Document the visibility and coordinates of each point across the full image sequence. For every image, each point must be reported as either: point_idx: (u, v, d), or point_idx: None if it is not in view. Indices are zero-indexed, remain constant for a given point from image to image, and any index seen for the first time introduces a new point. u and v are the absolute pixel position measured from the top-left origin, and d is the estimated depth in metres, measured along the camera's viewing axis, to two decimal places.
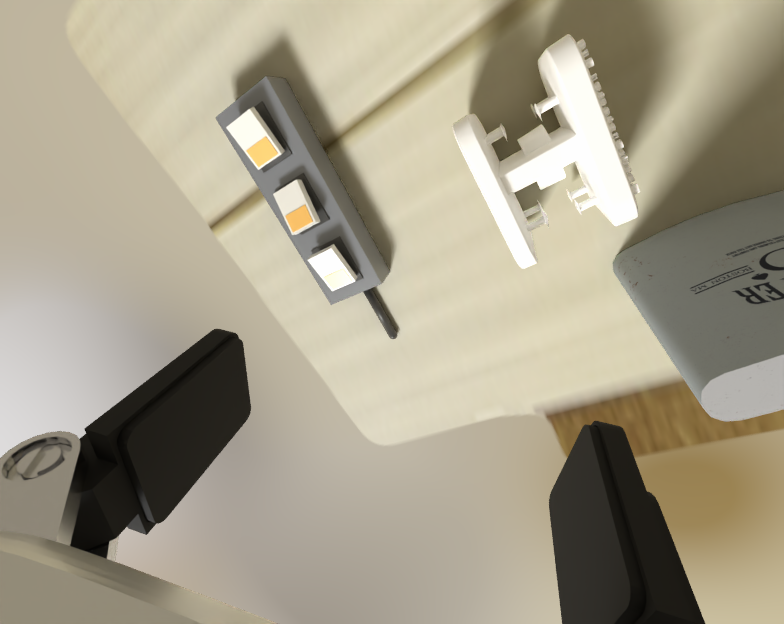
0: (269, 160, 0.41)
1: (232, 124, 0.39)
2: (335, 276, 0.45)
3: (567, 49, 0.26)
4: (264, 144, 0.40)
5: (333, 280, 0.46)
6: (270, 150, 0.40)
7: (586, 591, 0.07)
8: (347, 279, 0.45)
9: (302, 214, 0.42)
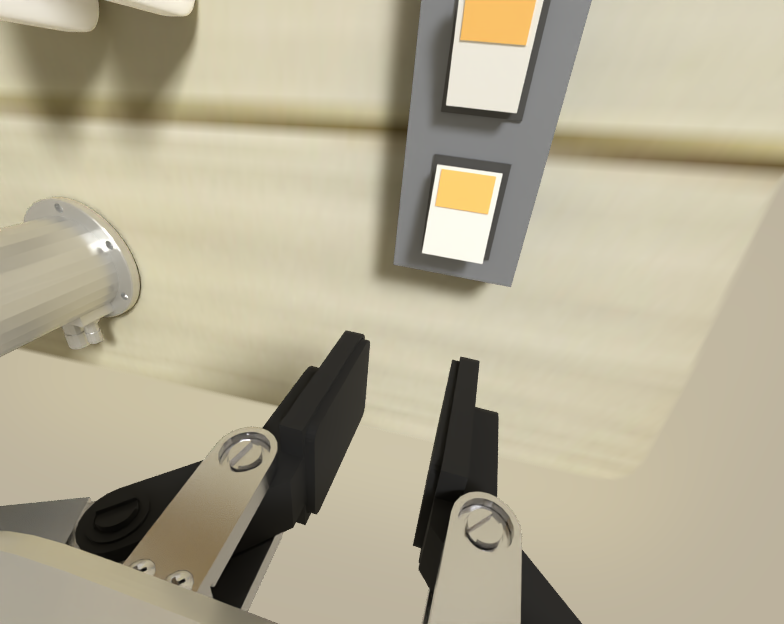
0: (466, 171, 0.21)
1: (468, 258, 0.22)
2: None
3: None
4: (448, 198, 0.21)
5: None
6: (448, 183, 0.21)
7: (426, 481, 0.09)
8: None
9: (480, 20, 0.17)
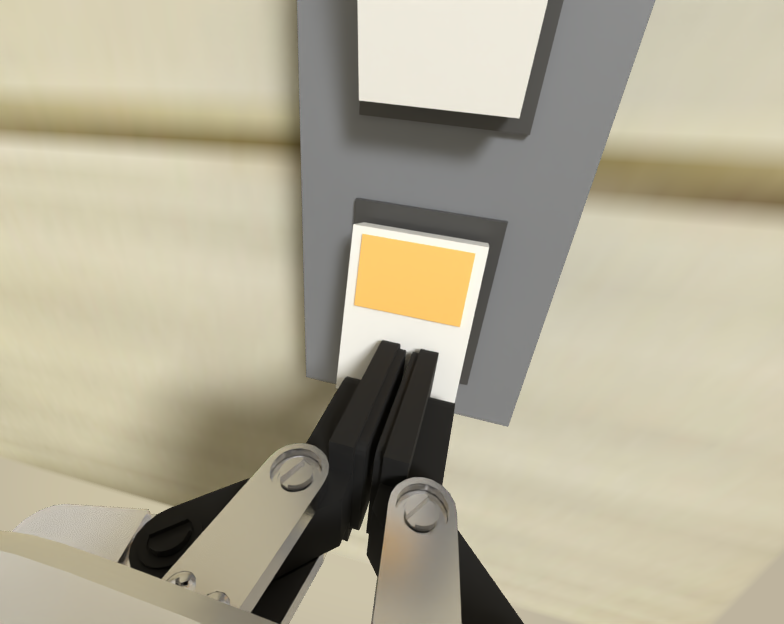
0: (413, 240, 0.10)
1: None
2: None
3: None
4: (379, 291, 0.10)
5: None
6: (377, 262, 0.10)
7: None
8: None
9: None
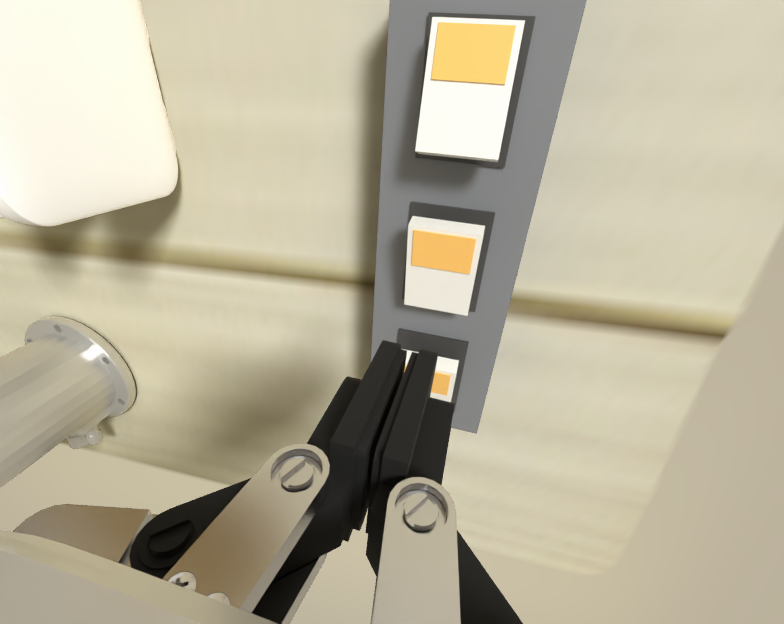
0: None
1: None
2: (470, 68, 0.15)
3: None
4: None
5: (486, 56, 0.15)
6: None
7: None
8: (447, 36, 0.15)
9: (428, 253, 0.19)
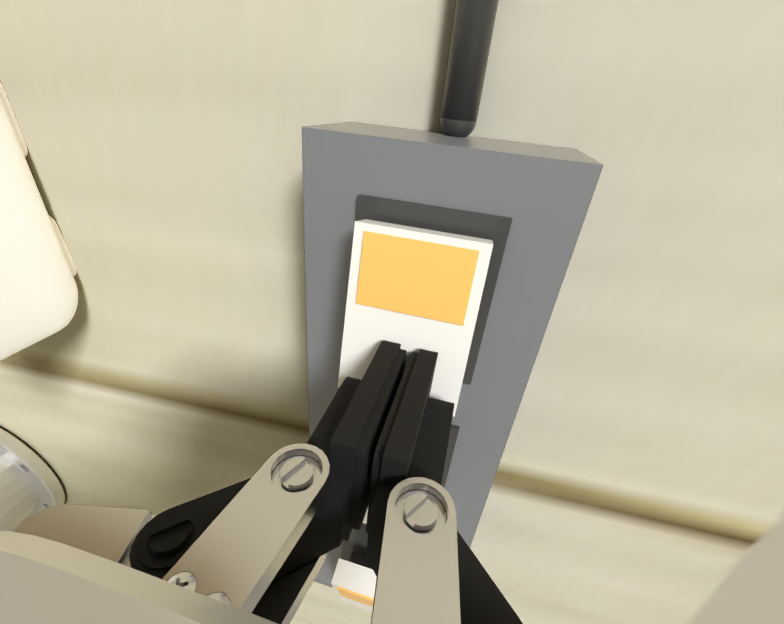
0: (366, 597, 0.17)
1: None
2: (412, 297, 0.10)
3: None
4: (352, 598, 0.18)
5: (435, 286, 0.10)
6: (348, 594, 0.17)
7: None
8: (376, 251, 0.10)
9: None
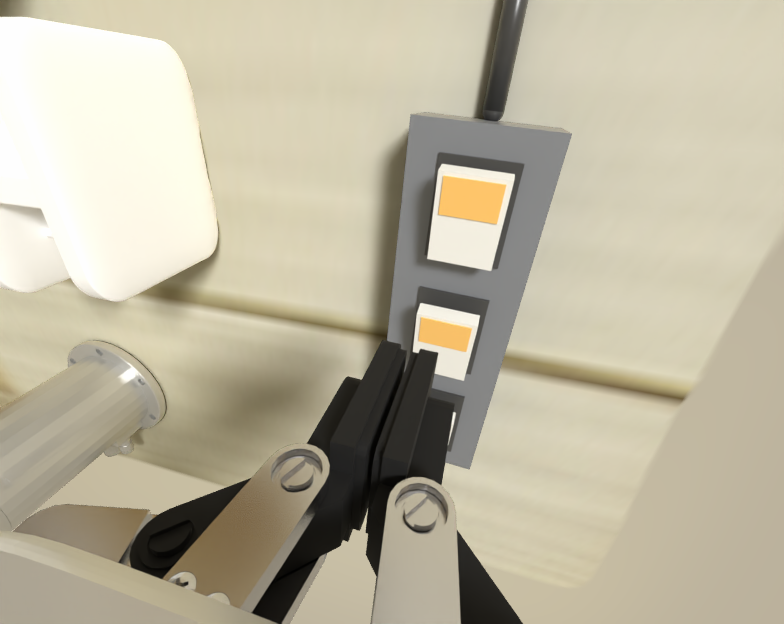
0: None
1: None
2: (469, 210, 0.19)
3: None
4: None
5: (482, 204, 0.19)
6: None
7: None
8: (450, 186, 0.18)
9: (432, 334, 0.23)
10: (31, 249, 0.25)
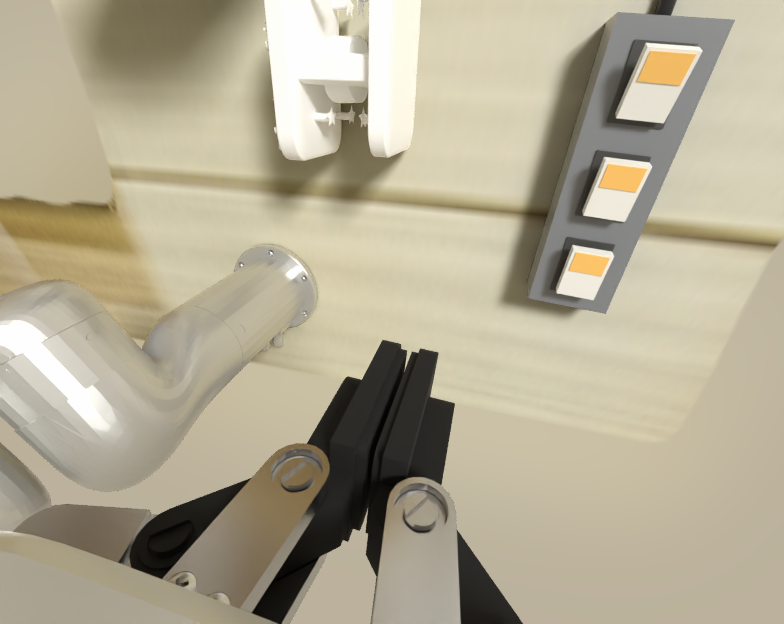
0: (591, 254, 0.35)
1: (584, 297, 0.38)
2: (662, 76, 0.28)
3: (286, 150, 0.34)
4: (578, 267, 0.36)
5: (673, 70, 0.28)
6: (579, 259, 0.36)
7: None
8: (653, 58, 0.28)
9: (612, 179, 0.32)
10: (308, 126, 0.34)
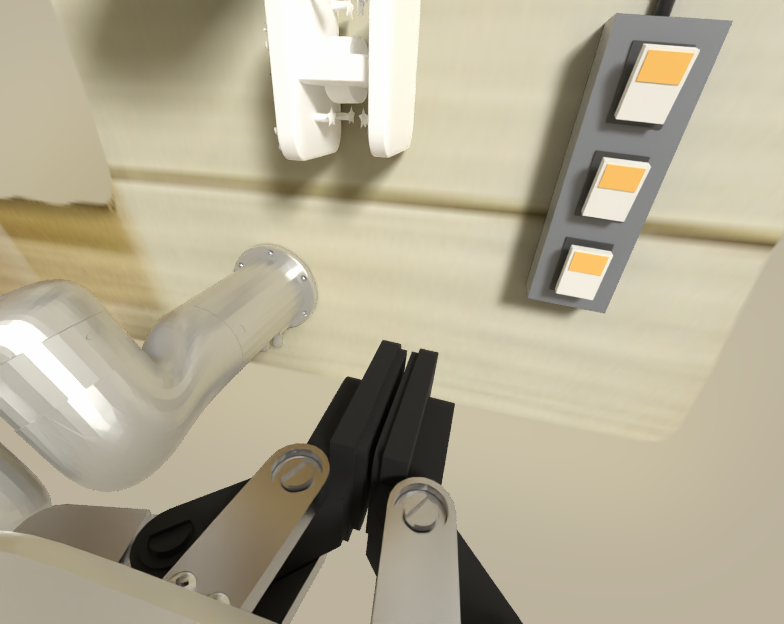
0: (590, 253, 0.36)
1: (584, 297, 0.38)
2: (661, 75, 0.28)
3: (287, 151, 0.34)
4: (577, 266, 0.37)
5: (672, 69, 0.28)
6: (578, 259, 0.36)
7: None
8: (652, 57, 0.28)
9: (611, 179, 0.32)
10: (308, 126, 0.34)
